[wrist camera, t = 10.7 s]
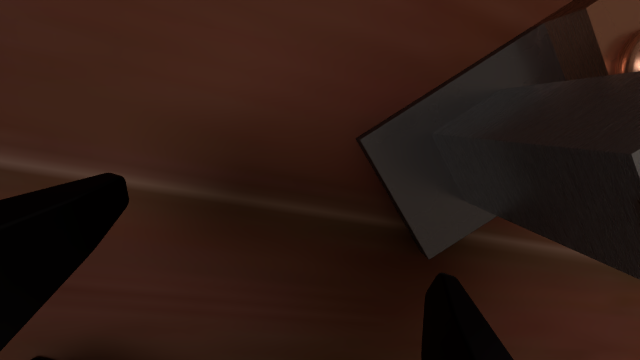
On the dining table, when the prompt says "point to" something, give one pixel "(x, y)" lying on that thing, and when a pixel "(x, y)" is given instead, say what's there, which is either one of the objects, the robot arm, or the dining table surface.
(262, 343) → the dining table surface
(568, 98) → the lock block
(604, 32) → the block
